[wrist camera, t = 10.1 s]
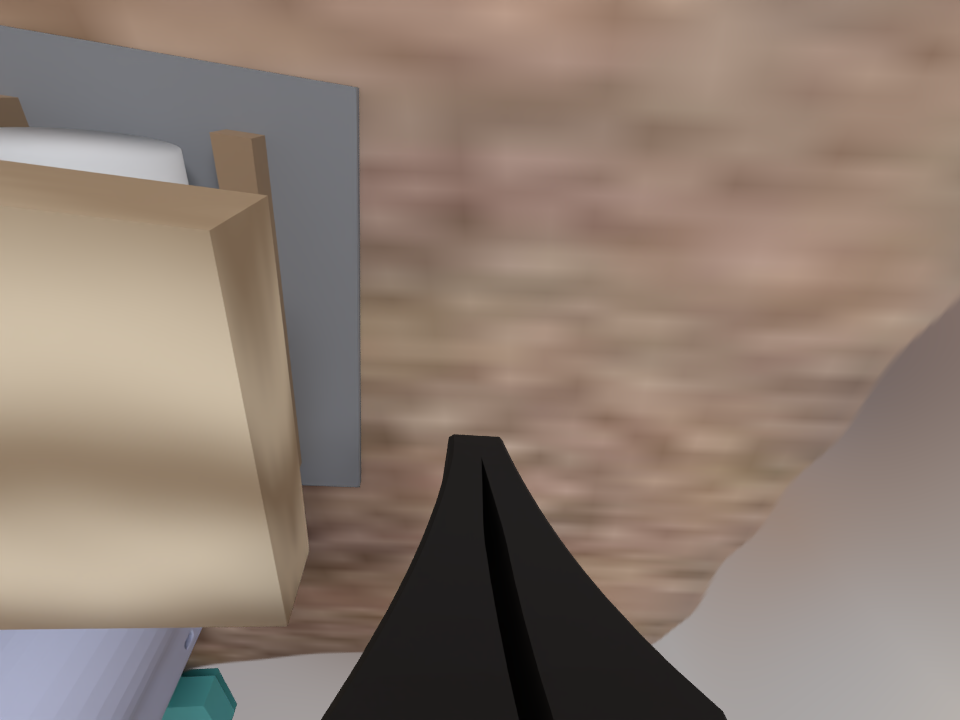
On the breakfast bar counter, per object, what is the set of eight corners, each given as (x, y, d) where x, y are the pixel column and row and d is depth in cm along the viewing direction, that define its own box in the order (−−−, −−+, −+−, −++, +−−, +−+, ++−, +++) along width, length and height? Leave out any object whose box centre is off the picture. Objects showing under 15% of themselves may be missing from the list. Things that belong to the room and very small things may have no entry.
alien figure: (0, 748, 35) (252, 733, 37) (-24, 785, 33) (242, 766, 35) (-177, 633, 24) (193, 622, 27) (-228, 678, 22) (175, 662, 25)
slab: (309, 550, 15) (287, 626, 13) (-94, 544, 13) (-198, 631, 11) (267, 195, 8) (209, 230, 6) (-541, 87, 7) (-1000, 87, 4)
